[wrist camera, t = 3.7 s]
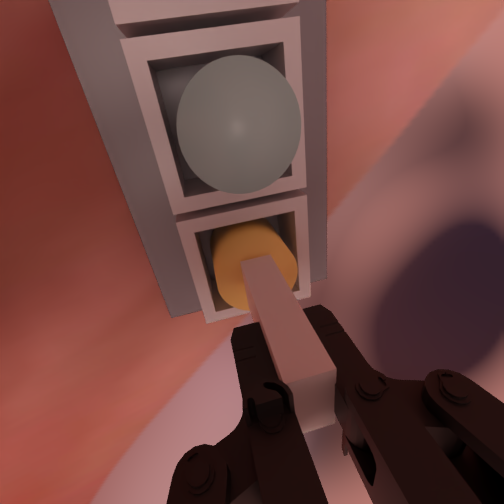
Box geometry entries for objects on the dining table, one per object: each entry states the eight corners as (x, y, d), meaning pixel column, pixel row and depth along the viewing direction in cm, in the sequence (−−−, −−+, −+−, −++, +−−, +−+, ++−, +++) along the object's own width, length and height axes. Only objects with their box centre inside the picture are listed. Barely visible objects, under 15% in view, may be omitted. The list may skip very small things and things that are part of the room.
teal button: (166, 77, 11) (159, 66, 8) (264, 63, 12) (297, 46, 8) (192, 178, 13) (194, 204, 10) (274, 162, 14) (304, 181, 10)
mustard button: (203, 220, 16) (208, 252, 13) (271, 205, 16) (295, 232, 13) (217, 278, 18) (225, 319, 15) (278, 263, 19) (299, 299, 15)
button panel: (-60, -288, 8) (-224, -553, 5) (320, -284, 10) (391, -488, 6) (171, 314, 20) (169, 355, 17) (324, 275, 21) (349, 306, 18)
